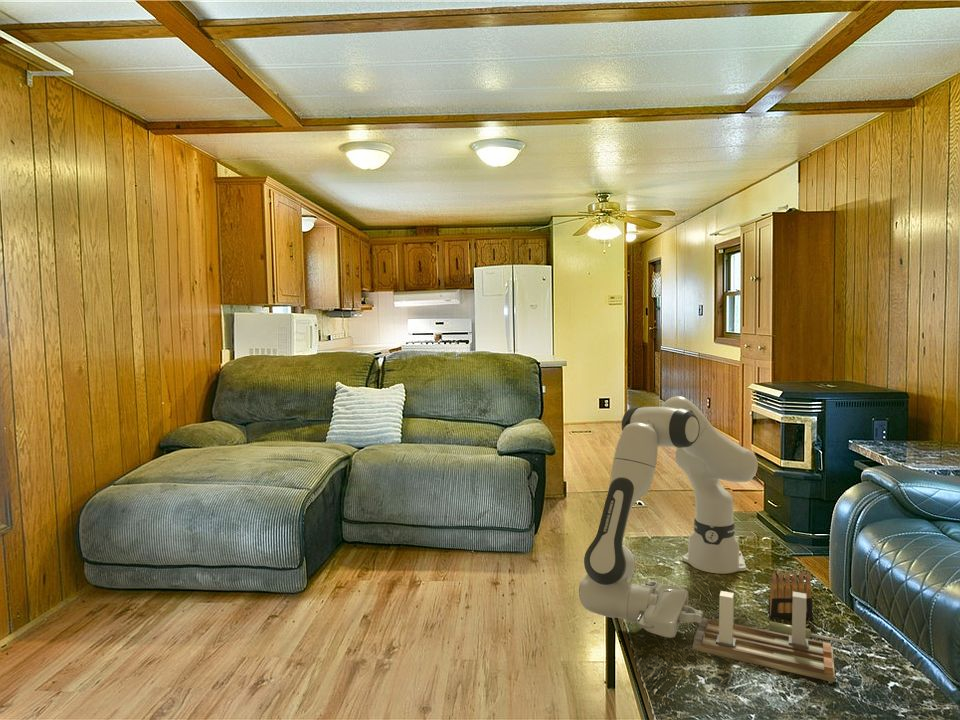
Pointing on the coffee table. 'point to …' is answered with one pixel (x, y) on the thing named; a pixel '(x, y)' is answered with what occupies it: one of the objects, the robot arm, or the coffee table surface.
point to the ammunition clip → (788, 595)
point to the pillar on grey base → (799, 621)
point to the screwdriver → (788, 630)
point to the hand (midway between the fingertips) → (702, 617)
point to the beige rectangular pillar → (726, 620)
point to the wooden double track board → (768, 650)
